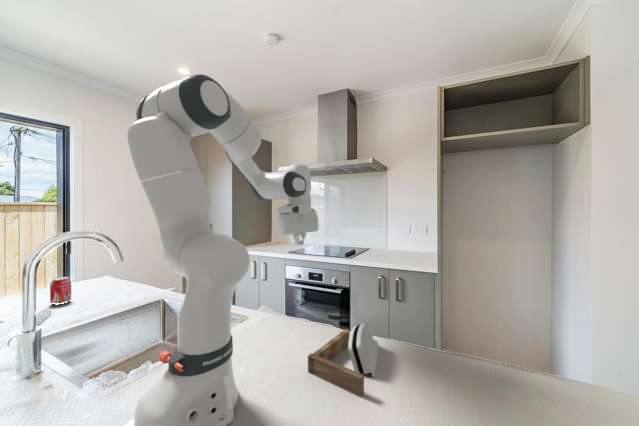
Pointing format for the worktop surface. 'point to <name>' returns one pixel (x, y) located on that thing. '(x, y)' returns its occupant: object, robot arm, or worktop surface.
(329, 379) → the wooden corner bracket
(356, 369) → the white black-banded slab
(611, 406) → the worktop surface
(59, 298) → the soda can
